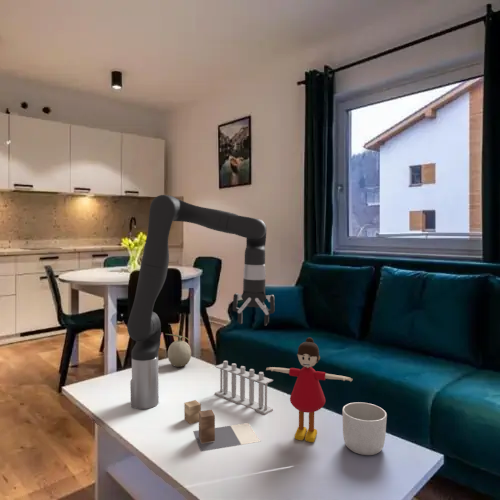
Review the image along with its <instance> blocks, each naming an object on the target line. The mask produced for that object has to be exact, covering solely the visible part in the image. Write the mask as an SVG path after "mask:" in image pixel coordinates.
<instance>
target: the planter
mask: <svg viewBox="0 0 500 500" xmlns="http://www.w3.org/2000/svg"><path fill="white" fill-rule="evenodd" d="M387 418H388V414H387V412H386V410H384V409H383V408H382V407H380V406H378V405H376V404H372V403H370V402H369V403H368V402H361V401H360V402H359V401H358V402H350V403H346V404H345V405H343V407H342V436H343V441H344V444H345V446H346V447H347V448H348V449H349V450H350V451H352V452H354V453H356V454H359V455H363V456H373V455H376V454H378V453H380V452H381V451H382V450H383V448H384V446H385V441H386V433H387V420H388V419H387Z"/></svg>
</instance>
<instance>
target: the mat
mask: <svg viewBox="0 0 500 500" xmlns="http://www.w3.org/2000/svg"><path fill="white" fill-rule="evenodd" d="M193 434H194V437H195V440H196V443H197V445H198V448H199V449H200V450H199V451H200V452H205V451H212V450H213V451H214V450H216V449H223V448H224V449H225V448H231V447H236V446H242V445H248V444H254V443H259V442H261V440H260V438H259V436H258V435H257V434H256V432H255V431H254V429H253V428H252V425H250V423H248V422H246V423H245V422H244V423H239V424H232V425H231V424H230V425H225V426H218V427H215V442H209V443H203V444H201V441H200V439H199V429H198V430H193Z"/></svg>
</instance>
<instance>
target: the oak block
mask: <svg viewBox="0 0 500 500" xmlns="http://www.w3.org/2000/svg"><path fill="white" fill-rule="evenodd" d="M183 404H184V406H183V407H184V409H183V410H184V420H185V421H186V422H187V424H189V425H191V424H195V423H199V411H202V404H201V403H200V402H199V401H197V400H196V399H194V400H190V401H187V402H184V403H183Z"/></svg>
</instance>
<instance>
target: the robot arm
mask: <svg viewBox="0 0 500 500" xmlns="http://www.w3.org/2000/svg"><path fill="white" fill-rule="evenodd" d="M173 222H184V223H189V224H190V223H191V224H194V225H198V226H201V227H204V228H206V229H210V230H213V231H218V232H220V233H221V232H222V233H225V234H229V235H236V236H238V237H242V238H245V239H246V241H245V242H246V247H245V250H244V264H243V266H244V267H243V281H242V286H243V287H242V293H238V292H235V293H234V294H233V297H232V299H233V301H232V311H233V312H235V313H237V323H239V324H238V325H242V324H243V319H244V318H243V311H244V310H245V309H246V308H247V307H248V308H260V310H262V311H263V313H264V321H263V325H264V326H265V327H266V326H267V325H268V324H269V323H270V315H272V314H274V313H275V310H276V309H275V307H276V306H275V295H274V294H270V295H269V294H268V295H266V278H267V274H266V273H267V272H266V271H267V270H266V242H267V241H266V239H267V225H266V223H265V222H264V221H263V219H260V218H255V217H249V216H243V215H239V214H236V213H234V212H230V211H225V210H221V209H215V208H209V207H203V206H199V205H196V204H195V205H194V204H191V203H188V202H186V201H184V200H182V199H179V198H176V197H175V196H173V195H169V194H168V195H167V194H160V195H157V196H155V197H154V198H153V199H152V201H151V203H150V207H149V215H148V225H147V235H146V239H145V243H144V248H143V254H142V257H141V263H140V267H139V272H138V273H139V274H138V280H137V286H136V290H135V296H134V299H133V300H134V301H133V304H132V307H131V310H130V314H129V318H128V321H127V324H126V325H127V326H126V327H127V329H126V330H127V334H128V336H129V337H130V338H131V339H132V340H133V341H135V344H134V346H133V347H132V349H131V379H130V384H129V385H130V408H135V409H141V410H146V409H151V408H152V409H153V408H154V407H156V406H157V405H158V404H159V403H160V402H159V401H160V399H159V350H160V347H161V335H162V333H161V331H162V328H161V327H162V323H161V319H160V317H159V316H158V314H157V313H156V312H154V306H155V302H156V300H157V298H158V296H159V294H160V293H161V290H162V289H163V287H164V285H165V282H166V279H167V275H168V269H169V263H170V262H169V261H170V251H169V236H170V233H171V232H170V231H171V228H172V223H173ZM240 299H242V301H243V302H244V303H243V304H242V305H241V306H240V307H238V303H239V302H238V301H240ZM266 299H267V301H268V303H269V307H270V308H268V307H267V305H266V304H265V301H266Z"/></svg>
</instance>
